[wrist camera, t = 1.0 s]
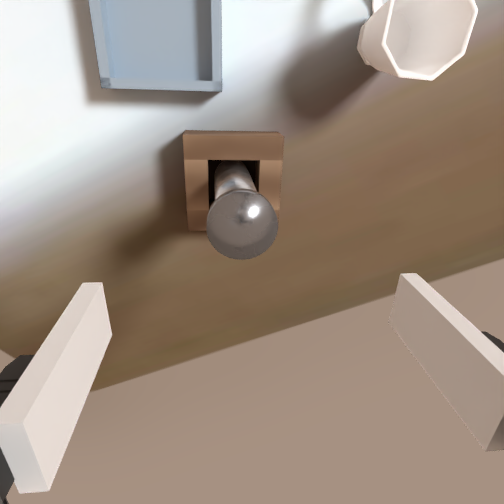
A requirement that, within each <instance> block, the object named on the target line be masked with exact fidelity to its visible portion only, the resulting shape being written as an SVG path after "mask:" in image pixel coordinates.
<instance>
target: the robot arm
mask: <svg viewBox="0 0 504 504" xmlns="http://www.w3.org/2000/svg"><path fill="white" fill-rule="evenodd" d="M388 323H389V324H390V325H391V326H392V328H393V329H394V331H395V332H396V333H397V335H398V336H399V337H400V339H401V340H402V341H403V343H404V344H405V345H406V347H407V348H408V349H409V351H410V352H411V353H412V355H413V356H414V357H415V359H416V360H417V361H418V363H419V364H420V365H421V367H422V368H423V369H424V371H425V372H426V373H427V374H428V376H429V377H430V378H431V380H432V381H433V383H434V384H435V385H436V387H437V388H438V389H439V390H440V392H441V393H442V395H443V396H444V397H445V399H446V400H447V401H448V403H449V404H450V405H451V407H452V408H453V409H454V411H455V412H456V413H457V415H458V416H459V417H460V419H461V420H462V421H463V422H464V424H465V425H466V427H467V428H468V429H469V431H470V432H471V433H472V435H473V436H474V437H475V439H476V440H477V441H478V443H479V444H480V445H481V447H482V448H483V449H484V451H496V450H504V343H503V342H502V341H501V340H499V339H497V338H495V337H494V336H492V335H490V334H489V333H487V332H480V331H479V330H478V329H477V328H476V327H475V326H474V325H473V324H472V323H470V322H469V321H468V320H467V319H466V318H465V317H464V316H463V315H461V313H459V312H458V311H457V310H456V309H455V308H454V307H453V306H452V305H451V304H450V303H448V302H447V301H446V300H445V299H444V298H443V297H442V296H441V295H440V294H439V293H437V292H436V291H435V290H434V289H433V288H432V287H431V286H430V285H429V284H428V283H426V282H425V281H424V280H423V279H422V278H421V277H420V276H419V275H418V274H417V273H406V274H400V278H399V282H398V286H397V290H396V294H395V298H394V302H393V306H392V310H391V314H390V318H389V322H388ZM111 336H112V332H111V327H110V322H109V316H108V311H107V306H106V300H105V295H104V290H103V284H102V282H95V283H82V285H81V286H80V288H79V289H78V291H77V292H76V294H75V295H74V297H73V299H72V300H71V302H70V303H69V305H68V306H67V308H66V309H65V311H64V312H63V314H62V315H61V317H60V318H59V320H58V321H57V323H56V324H55V326H54V327H53V329H52V330H51V332H50V333H49V335H48V336H47V338H46V339H45V341H44V342H43V344H42V345H41V347H40V348H39V350H38V351H37V353H36V354H35V355H20V356H19V357H17V358H16V359H15V360H14V361H13V362H11V363H10V364H8V365H7V366H6V367H5V368H4V369H3V371H2V372H1V373H0V504H9V503H8V501H7V499H6V495H7V494H8V492H9V489H10V488H11V486H12V484H13V482H15V485H16V487H17V489H18V491H19V493H20V494H21V493H32V492H42V491H49V490H50V487H51V484H52V482H53V480H54V477H55V475H56V472H57V470H58V467H59V465H60V462H61V460H62V457H63V455H64V452H65V450H66V447H67V445H68V443H69V440H70V438H71V435H72V433H73V430H74V428H75V425H76V423H77V420H78V418H79V415H80V413H81V410H82V408H83V406H84V403H85V401H86V398H87V396H88V393H89V391H90V388H91V386H92V383H93V381H94V378H95V376H96V373H97V371H98V368H99V366H100V363H101V361H102V359H103V356H104V354H105V351H106V349H107V346H108V344H109V341H110V339H111Z"/></svg>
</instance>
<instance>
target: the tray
mask: <svg viewBox="0 0 504 504" xmlns="http://www.w3.org/2000/svg"><path fill="white" fill-rule="evenodd" d="M89 7H90V14H91V20H92V27H93V34H94V40H95V47H96V54H97V61H98V67H99V74H100V81H101V87H102V88H116V89H149V90H183V91H216V92H222V17H221V0H89Z"/></svg>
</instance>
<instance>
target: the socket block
mask: <svg viewBox="0 0 504 504" xmlns="http://www.w3.org/2000/svg"><path fill="white" fill-rule="evenodd" d="M283 147H284V136H282V135H281V134H280V133H278V132H256V131H200V130H185V132H184V133H183V152H184V169H185V186H186V204H187V221H188V231H201V230H207V229H206V226H207V215H208V211H209V209H210V207H211V205H212V204H213V202H214V201H215V199H209V172H208V160H256V162H255V188H256V191H257V192H259V193H260V194H262V195H263V196H265V197H266V198H267V199H268V200H269V202H270V203H271V205H272V207H273V209H274V211H275V213H276V215H277V219H278V221H279V206H280V191H281V177H282V162H283Z"/></svg>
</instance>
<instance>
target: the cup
mask: <svg viewBox="0 0 504 504" xmlns="http://www.w3.org/2000/svg"><path fill="white" fill-rule="evenodd" d="M477 12H478V9H477V6H476V4H475V1H474V0H388V1H387V2H386V3H385V4H384V5H383V6H382V0H372V13H373V15H372V16H370V18H369V19H368V21H367V22H366V23H365V24H363V25H362V26H361V29H360V34H359V39H358V44H357V50H358V52H359V54H360V55H361V57H362V59H363V60H364V62H365V64H366V65H371V66H372V67H374V68H375V69H376V70H378V71H382V72H385V73H388V74H391V75H394V76H397V77H403V78H413V79H422V80H431V81H433V80H434V79H435V78H436V77H437V76H439V75H440V74H441V73H442V72H444V71H445V70H446V69H447V68H448V67H450V66H451V65H452V64H453V63H454V62H456V61H457V60H458V59H459V58H461V57H462V56H463V55H464V54H465V51H466V48H467V44H468V41H469V38H470V35H471V32H472V28H473V25H474V22H475V19H476V15H477Z"/></svg>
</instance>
